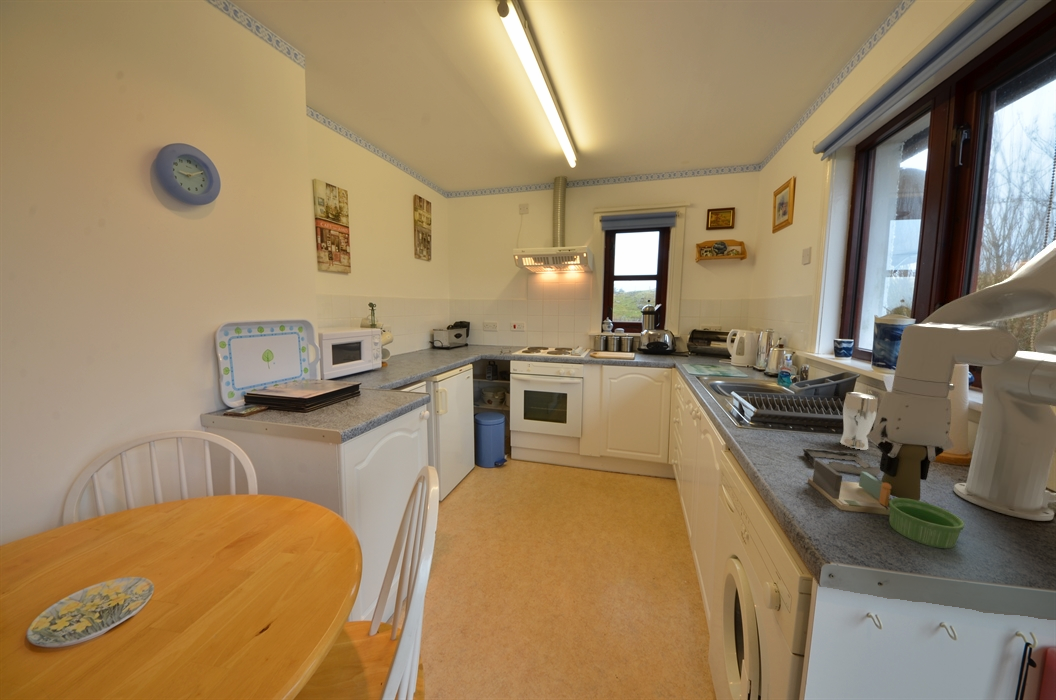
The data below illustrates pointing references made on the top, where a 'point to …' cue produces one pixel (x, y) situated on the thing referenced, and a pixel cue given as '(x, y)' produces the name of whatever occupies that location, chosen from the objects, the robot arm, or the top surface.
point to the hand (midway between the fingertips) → (902, 474)
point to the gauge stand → (844, 491)
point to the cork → (907, 472)
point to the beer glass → (858, 419)
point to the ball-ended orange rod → (885, 494)
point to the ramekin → (925, 522)
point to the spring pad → (870, 484)
